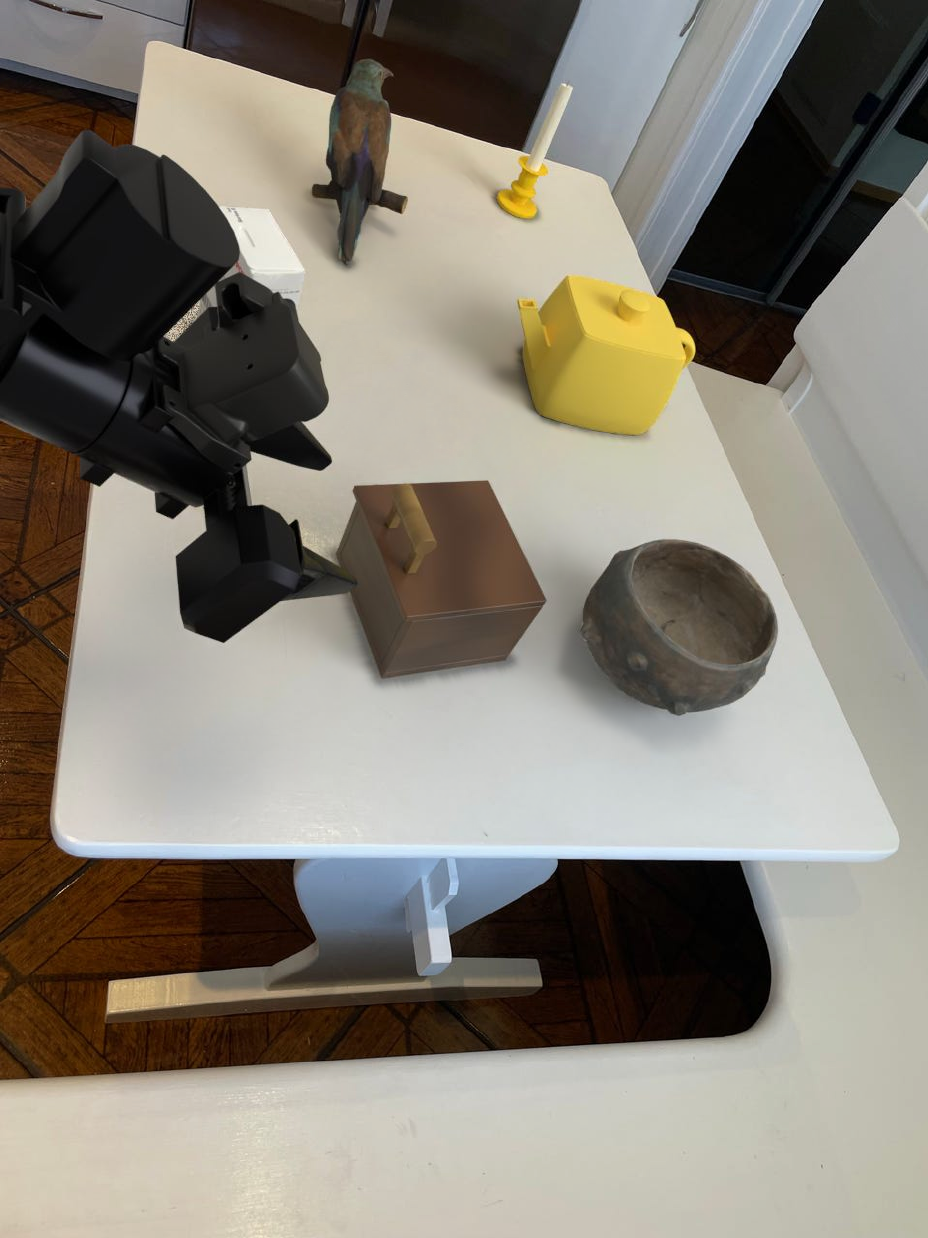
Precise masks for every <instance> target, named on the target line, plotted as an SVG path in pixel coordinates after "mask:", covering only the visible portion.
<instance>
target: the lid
mask: <svg viewBox="0 0 928 1238" xmlns="http://www.w3.org/2000/svg"><path fill="white" fill-rule="evenodd" d="M351 492H352V494H353V496H354V499H355V503H356V502H357V504H358V507H359V509H360V512H361V514H362V517H363V519H364V522H365V524H366V527H367V529H368V532H369V534H370V537H371V539H372V542H373V545H374V547H375V550H376V552H377V555H378V557H379V560H380V562H381V565H382V567H383V570H384V572H385V575H386V577H387V580H388V582H389V585H390V588H391V590H392V593H393V595H394V598H395V600H396V603H397V605H398V608H399V610H400V613H401V615H402V618H403V620H404V622H409V621H417V620H425V619H434V618H442V617H451V616H459V615H467V614H476V613H484V612H493V611H501V610H509V609H518V608H526V607H534V606H543V607H544V606H545V604H546V603H547V602H548V600H547V598H546V596H545V594H544V592H543V590H542V588H541V585H540V584H539V582H538V580H537V577H536V575H535V573H534V571H533V569H532V566H531V565H530V562H529V561H528V559H527V557H526V554H525V553H524V550H523V549H522V547H521V544H520V543H519V540H518V538H517V537H516V534H515V532H514V530H513V528H512V526H511V524H510V522H509V519H508V518H507V516H506V514H505V512H504V509H503V508H502V506H501V504H500V501H499V499H498V498H497V495H496V493H495V491H494V489H493V487H492V485H491V483H490V481H489V480H487V479H486V480H463V481H462V480H461V481H459V480H458V481H438V482H437V481H436V482H414V483H413V482H411V483H410V482H409V483H389V484H388V483H385V484H363V485H361V484H359V485H353V488H352V491H351Z"/></svg>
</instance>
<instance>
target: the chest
mask: <svg viewBox="0 0 928 1238" xmlns="http://www.w3.org/2000/svg"><path fill="white" fill-rule="evenodd" d="M335 556H336V558H337V562H338V565H339V567H341V568H343V569H344V570H346V571H347V572H348V573H350V574H351V575H352V576H354V577H355V578H356V579H357V583H358V585H357V586H356V587H355V588H354V589H352V590H351V591H349V595H350V596H351V597H350V598H351V600H352V602H353V605H354V607H355V610H356V613H357V615H358V618H359V622H360V624H361V627H362V629H363V632H364V635H365V637H366V640H367V643H368V645H369V648H370V650H371V654H372V656H373V659H374V662H375V664H376V667H377V670H378V672H379V675H380V678H381V679H383V680H384V679H388V678H394V677H395V678H397V677H401V676H409V675H416V674H422V673H428V672H429V673H430V672H436V671H441V670H442V671H443V670H449V669H450V670H451V669H455V668H462V667H470V666H476V665H481V664H482V665H483V664H488V663H489V664H490V663H497V662H502V661H506V660H507V659H508V658H509V657H510V654H511V653H512V652H513V650H514V649H515V648H516V646H517V645H518V643H519V642H520V640H521V639H522V637H524V634H525V633H526V631H527V630H528V629H529V628H530V626H531V625H532V623H533V621H534V620H535V619H536V617H537V616H538V615H539V613H540V612H541V610H542V609H543V607H544V605H543V606H534V607H526V608H518V609H509V610H501V611H493V612H484V613H476V614H467V615H459V616H451V617H442V618H434V619H425V620H417V621H409V622H404V620H403V618H402V615H401V613H400V610H399V608H398V605H397V603H396V600H395V598H394V595H393V593H392V590H391V588H390V585H389V582H388V580H387V577H386V575H385V572H384V570H383V567H382V565H381V562H380V560H379V557H378V555H377V552H376V550H375V547H374V545H373V542H372V539H371V537H370V534H369V532H368V529H367V527H366V524H365V522H364V519H363V517H362V514H361V512H360V509H359V507H358V504H357V502H356V501H355V503H354V505H353V508H352V510H351V513H350V515H349V518H348V521H347V524H346V526H345V528H344V531H343V533H342V537H341V539H340V542H339V544H338V547H337V549H336V552H335Z"/></svg>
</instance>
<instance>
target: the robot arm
mask: <svg viewBox="0 0 928 1238" xmlns="http://www.w3.org/2000/svg"><path fill="white" fill-rule="evenodd" d="M219 206H220V205H218V204H217V202H216V201H215V200H214V198H213V197H212V196H211V195H210V193H208V191H207V190H206V189H205V188H204V187H203V186H202V185H201V184H200V183H199V182H198V181H197V179H195V178H194V177H193V176H192V175H191V174H190V173H189V172H188V171H187V170H186V169H184V168H183V167H182V166H180V165H179V164H178V163H177V162H176V161H174V160H173V159H172V158H171V157H169V156H168V155H166V154H161V156H159V155H157V154H155V153H154V152H151V151H150V150H148V149H147V148H142V147H140V146H139V145H135V144H127V143H123V144H120V145H117V146H116V147H114V146H113V145H111V144H110V143H108V142H107V141H106V140H104V139H103V138H102V137H100V136H99V135H98V134H97V133H95V132H94V131H93V130H91V129H89V130H87V129H85V130H82V131H81V132H80V133H79V134H78V136H77V137H76V138H75V139H74V140H73V142H72V143H71V144H70V145H69V147H68V148H67V150H66V151H65V153H64V155H63V157H62V159H61V162H60V165H59V168H58V169H57V171H56V172H55V174H54V175H53V176H52V178H51V179H50V180H49V181H48V183H47V184H46V185H45V186H44V188H43V189H42V190H41V191H40V192H39V193H38V194H37V196H36V197H35V198H34V200H32V202H31V203H30V205H29V206H28V207H27V197H26V194H25V193H24V191H22V190H21V189H19V188H15V187H4V186H0V421H1V422H2V423H5V424H7V425H9V426H11V427H13V428H16V429H17V430H20V431H21V432H24V433H26V434H29V435H31V436H33V437H34V438H37V439H39V440H41V441H44V442H46V443H47V444H50V445H52V446H55V447H56V448H59V449H61V450H63V451H65V452H67V453H70V454H72V455H74V456H76V457H78V458H79V479H80V480H82V481H86V482H87V483H90V484H91V485H94V486H96V487H99V488H100V487H101V486H103V484H105V483H106V482H107V481H108V480H109V479H110V478H111V477H112V476H113V475H114V474H115V475H117V476H119V477H121V478H124V479H125V480H128V481H129V482H130V481H131V482H132V483H134V484H137V485H138V486H141V487H143V488H145V489H147V490H149V491H152V492H153V493H154V504H155V505H154V506H155V513H157V514H159V515H161V516H164V517H165V518H168V519H170V520H174V519H175V518H176V517H178V516H179V515H180V514H181V513H182V512H184V511H185V510H186V509H187V508H188V507H189V506H190V507H193V508H195V509H196V508H200V507H203V514H204V522H205V531H204V532H203V533H201V534H200V535H198V537H196V538H195V539H194V540H193V541H192V542H190V543H189V544H188V545H187V546H185V548H183V549H182V550H181V551H180V552H178V553H177V554H176V555H175V568H176V569H175V570H176V582H177V593H178V594H177V595H178V607H179V615H180V618H181V622H182V627H183V629H185V630H187V631H189V632H191V633H194V634H196V635H199V636H202V637H205V638H207V639H210V640H213V641H216V642H219V643H222V644H225V643H226V642H228V641H229V640H230V639H231V638H234V636H236V635H237V634H239V632H241V631H242V630H243V629H245V628H246V627H248V626H249V625H251V624H252V623H253V622H255V621H256V620H257V619H259V618H260V617H261V616H263V615H264V614H265V613H267V612H268V611H269V610H271V609H272V608H274V607H275V606H276V605H278V604H279V603H281V602H286V601H287V602H289V601H294V600H305V599H311V598H313V599H314V598H321V597H332V596H339V595H345V594H348V593H350V591H351V590H352V589H354V588H355V587H356V586H357V585H358V583H357V579H356V578H355V577H354V576H352V575H351V574H350V573H348V572H347V571H346V570H344V569H343V568H341V567H340V565H339V564H336V563H334V562H333V561H331V560H329V559H327V558H326V557H324V556H322V555H320V554H319V553H317V552H316V551H314V550H312V549H310V548H308V547H306V546H305V545H304V544H303V538H302V532H301V527H300V522H299V520H298V519H297V518H295V519H294V520H292V521H291V522H290V523H288V521H287V520H286V519H285V518H284V516H283V515H282V514H281V512H278V511H277V510H275V509H272V508H270V507H269V506H267V505H265V504H263V503H262V504H261V503H260V504H253V503H252V502H253V501H252V495H251V487H250V481H249V474H248V467H247V465H248V464H249V463H250V462H251V461H252V453H254V454H258V455H260V456H263V457H267V458H271V459H273V460H277V461H280V462H283V463H285V464H289V465H293V466H296V467H300V468H305V469H309V470H314V471H318V472H322V471H324V470H325V469H327V468H328V467H329V466H331V465H332V463H333V458H332V455H331V454H330V453H329V452H328V451H327V450H326V448H325V447H324V445H322V444H321V443H320V441H319V440H318V439H317V438H316V436H315V435H313V433H312V432H311V431H310V430H309V428H308V427H307V426H306V425H305V424H304V423H307V422H309V421H311V420H314V419H315V418H318V417H319V416H320V415H321V414H322V413H324V411H325V410H326V408H327V407H328V405H329V402H330V394H329V390H328V387H327V385H326V382H325V377H324V373H323V368H322V364H321V362H322V357H321V353H320V352H319V350H318V349H317V347H316V346H315V344H314V343H313V341H312V340H311V338H310V337H309V335H308V334H307V332H306V330H305V329H304V327H303V326H302V325H301V323H300V320H299V315H298V309H297V310H296V305H295V303H294V301H292V300H291V299H288V298H283V297H282V296H281V294H280V293H279V292H275V293H273V292H272V291H271V290H270V289H269V288H268V287H266V286H264V285H262V284H261V283H259V282H257V281H255V280H253V279H252V278H250V277H248V276H246V275H245V274H243V273H240V272H238V273H236V274H234V275H232V276H230V277H227V278H225V279H223V280H221V281H219V280H220V279H221V278H222V277H223V276H224V275H225V274H226V273H227V272H228V271H229V270H230V269H231V268H232V267H233V266H234V265H235V264H236V263H237V262H238V260H239V255H240V248H239V244H238V241H237V238H236V236H235V233H234V231H233V229H232V227H231V225H230V223H229V222H228V220H227V218H226V217H225V215H224V214H223V212H222V211H221V209H220V208H219ZM218 281H219V282H218ZM214 285H215V291H216V301H217V307H208V308H207V309H206V310H205V311H204V312H203V313H202V314H201V315H200V316H199V317H198V318H197V317H196V319H195V320H194V321H193V322H192V323H191V324H190V325H189V326H188V327H187V328H186V329H185V330H184V331H183V332H181V334H180V335H179V336H178V337H177V338H176V339H175V340H174V341H172V340H171V339H169V338H168V337H166V335H167V334H168V333H169V332H170V331H171V330H172V329H173V328H174V327H175V326H176V325H177V324H178V323H179V322H180V321H181V320H182V319H183V318H184V317H185V316H186V315H187V314H188V313H189V312H190V310H192V309H193V308H194V307H195V305H196V304H197V303H199V302H200V299H201V298H202V297H203V296H204V295H205V294H206V293H207V292H208V291H209V290H210V289H211V288H212V287H213V286H214Z"/></svg>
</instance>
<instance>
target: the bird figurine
mask: <svg viewBox="0 0 928 1238" xmlns="http://www.w3.org/2000/svg"><path fill="white" fill-rule="evenodd" d="M388 77H394V74H393V72H392V71H391V70H390V69H389V68H387V67H384V66H383V65H382V63H380V62H379V61H376V60H374V59H372V58H364V59H363V58H362V59H360V60H358V61H357V62H355V64H354V65H353V68H352V71H351V73H350V75H349V77H348V79H347V81H346V84H345V86H344V87H341V88H339V89H338V91H337V92H336V94H335V96H334V99H333V101H332V104H331V107H330V111H329V119H328V123H329V124H328V142H327V143H328V145H327V148H326V154H325V155H326V156H325V165H326V167H327V168H328V170H329V172H330V178H331V179H330V181H329V182H328V184H320V183H313V184H312V186H311V196H312V197H313V198H315V199H325V200H327V199H328V200H334V201H336V204H337V208H338V213H339V222H338V227H337V231H336V237H337V241H338V248H337V250H338V257H339V259H340V260H342V261H344V263H345V264H346V265H349V264H350V263H351V262H352V261H353V258H354V256H355V252H356V249H357V248H358V243H359V238H360V235H361V229H362V223H363V220H364V217H365V216H366V214H367V212H368V209H369V207H370V206H377V207H379V208H385V209H388V210H390V211H392V212H395V213H397V214H400V215H403V214H404V212H405V210H406V208H407V205H408V201H409V198H408V196H407V195H402V194H399V193H396V192H393V191H391V190H387V189H383V186H384V184H383V183H384V180H385V175H386V167H387V161H388V157H389V151H390V143H391V142H390V141H391V130H392V113H391V108H390V105H389V103H388V102H389V101H387V100H386V99H384V98H383V95H382V86H383V84H384V81H385V79H387V78H388Z"/></svg>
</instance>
